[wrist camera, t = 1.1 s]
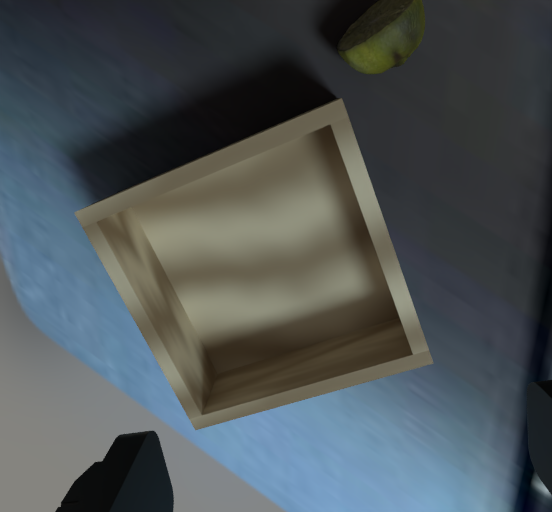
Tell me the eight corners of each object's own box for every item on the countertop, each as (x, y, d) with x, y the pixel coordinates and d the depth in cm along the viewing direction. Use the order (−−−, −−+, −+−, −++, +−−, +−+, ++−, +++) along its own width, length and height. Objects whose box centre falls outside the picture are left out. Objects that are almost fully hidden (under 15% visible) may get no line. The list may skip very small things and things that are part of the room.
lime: (330, 65, 28) (332, 58, 23) (356, -19, 26) (364, -44, 22) (396, 86, 28) (412, 84, 23) (427, 4, 26) (450, -16, 22)
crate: (117, 192, 32) (74, 212, 27) (337, 98, 29) (341, 98, 23) (214, 379, 37) (195, 430, 31) (414, 318, 33) (433, 363, 28)
